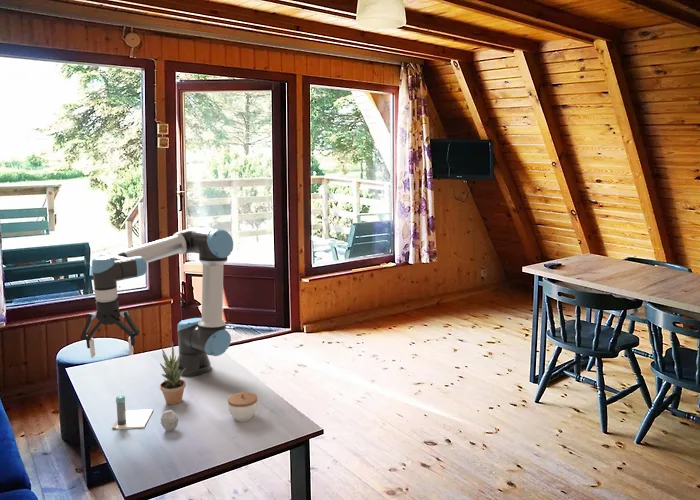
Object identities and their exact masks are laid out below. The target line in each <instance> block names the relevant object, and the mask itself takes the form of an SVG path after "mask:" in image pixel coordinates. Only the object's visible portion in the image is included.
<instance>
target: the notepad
mask: <svg viewBox="0 0 700 500" xmlns="http://www.w3.org/2000/svg"><path fill="white" fill-rule="evenodd" d="M125 412H126V424H124V425H118V419H117V420H116V421H115V423H114V424H113V426H112V427H111V429H114V430H130V429H133V428H134V429H145V427H146V426H147V424H148V422H149V420H150V418H151V416H152V414H153V412H154V409H153V408H151V409H149V408H147V409H146V408H145V409H130V410H129V409H125Z"/></svg>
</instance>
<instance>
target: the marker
mask: <svg viewBox="0 0 700 500" xmlns="http://www.w3.org/2000/svg"><path fill="white" fill-rule="evenodd" d="M115 403H116V415H117V416H116V418H117V419H118V425H124V424H126V412H125V410H126V396H125V395H118V396H116V397H115Z"/></svg>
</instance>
